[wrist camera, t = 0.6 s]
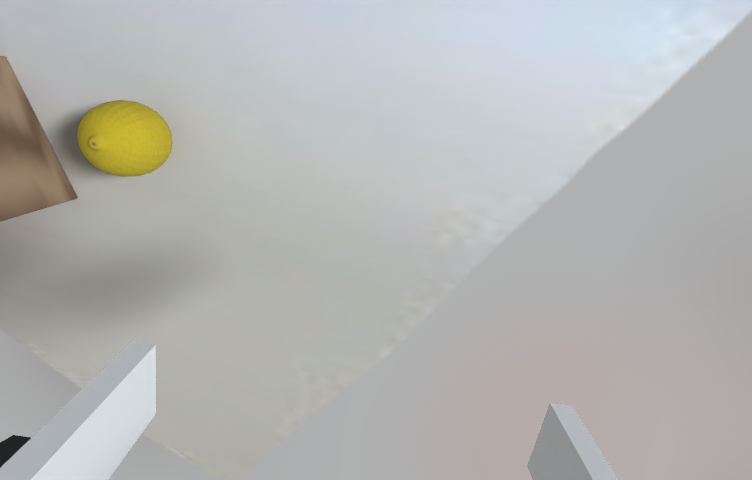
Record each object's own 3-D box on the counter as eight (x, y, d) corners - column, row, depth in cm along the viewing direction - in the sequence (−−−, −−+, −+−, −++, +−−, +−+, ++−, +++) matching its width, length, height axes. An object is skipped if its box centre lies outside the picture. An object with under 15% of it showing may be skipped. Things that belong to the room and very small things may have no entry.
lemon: (116, 152, 36) (44, 165, 28) (131, 89, 34) (59, 84, 27) (178, 178, 36) (124, 197, 29) (196, 118, 35) (144, 121, 27)
